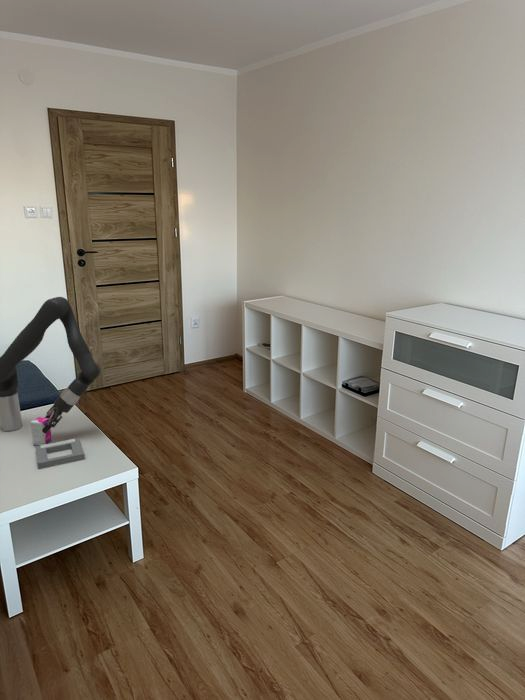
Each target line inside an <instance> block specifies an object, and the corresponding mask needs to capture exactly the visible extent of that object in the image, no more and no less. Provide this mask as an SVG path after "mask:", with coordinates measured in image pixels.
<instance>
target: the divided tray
mask: <svg viewBox="0 0 525 700" xmlns="http://www.w3.org/2000/svg"><path fill="white" fill-rule="evenodd" d="M34 447H35V454H36V460H37V461H36V463H37V469H38V470H40V469H44V468H45V469H46V468H50V467H54V466H55V467H56V466H58V465H59V466H60V465H64V464H68V463H73V462H77V461H82V460H86V457H85V455H86V454H85V451H84V448H83V446H82V442H81V439H80V437H77V438H72V439H71V438H70V439H67V440H60V441H57V442H50V443H48V444H45V445H40V446H34ZM67 450H71V452H72V453H71V454H70V453H69V454H66V455H61V456H56V457H51V458H48V454H52V453H57V452H63V451H67Z"/></svg>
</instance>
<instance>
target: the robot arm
mask: <svg viewBox="0 0 525 700" xmlns="http://www.w3.org/2000/svg"><path fill="white" fill-rule="evenodd" d="M57 320H60V322H61V323H62V325H63V328H64V330H65V334H66V340H67V345H68V347H69V349H70V351H71V354H72V355H73V356H74V358H75V360H76V361H77V363H78V366H79V369H80V372H79V374H78V376H77V377H76V378H74V380H73V381H72V382H71V383H70V384H69V385H68V386H67V387H66V388H65V389H64V390H63V391H62V392H61V393H60V395H59V396H58V397H57V398H56V399H55V400H54V402H53V405H52V406H51V407H50V408H49V409H48V411H46V415H45V416H44V418H49V422H48V424H47V425H46V426H45V427H44V428H43V429H42V432H44V433H47V432H48V431H49V430H50V428H53V429H54V428H56V426H57V424H58V423H59V422H60V421H61V420H62V419H63V416H62V415H63V413H65V414H68V413H69V412H70V411H71V409H72V408H73V407H74V406H75V405H76V404H77V403H78V401H79V400H80V399H81V397H82V396H83V394H85V392H87V390H88V389H89V386H91V384H92V383H94V381H95V380H96V379H97V378H98V377H99V376H100V375H101V370H102V369H101V366H100V365H99V364H97V363H96V361H95V360H94V358H93V357H92V351H91V350H90V348H89V346H88V344H87V343H86V341H85V339H84V336H83V334H82V332H81V331H80V327H79V325H78V323H77V320H76V317H75V315H74V312H73V309H72V306H71V304H70V302H69V300H68V299H66V298H65V297H63V296H55V297H52V298H49V299H47V300H45V301H44V302H43V304H42V305H41V307H40V308H39V310H38V311H37V312H36V314H35V315H34V317H33V318H32V319H31V320H30V321H29V322H28V324H27V325H26V326H25V327H24V328H23V329H22V330H21V331H20V332H19V333H18V335H17V336H15V338H14V340H13V341H12V343H10V345H9V346H8V347H7V349H6V350H5V351H4V353H3V354H2V355H1V356H0V430H1V431H3V432H13V431H16V430H20V429H22V427H23V419H22V413H21V412H22V411H21V407H20V400H19V393H18V387H19V386H18V385H19V381H18V370H17V367H16V366H18V365H19V364H20V363H21V362H22V361H23V360H24V359H26V358H27V357H28V356H29V355H31V353H33V352H34V351H35V350H36V349H37V348H38V347H39V345H40V344H41V342H43V339H44V337H45V333H46V332H47V330H48V329H49V327H50V326H51V325H52V324H54V323H55V322H56V321H57Z"/></svg>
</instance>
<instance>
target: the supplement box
mask: <svg viewBox="0 0 525 700" xmlns="http://www.w3.org/2000/svg"><path fill="white" fill-rule="evenodd" d="M48 422H49V418H45V417H42V416H41V417H40V416H37V417H36V418H35V419H33V420H32V421H30V428H31V436H32V437H31V438H32V444H33V445H32V446H34V447H35V446H40V445H45V444H50V443H52V441H53V439H52V429H51V428H52V427H51V428H50V430H49V431H48V432H47V433H44V432H42V429H43V428H44V427H45V426H46V425H47V424H48Z"/></svg>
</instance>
